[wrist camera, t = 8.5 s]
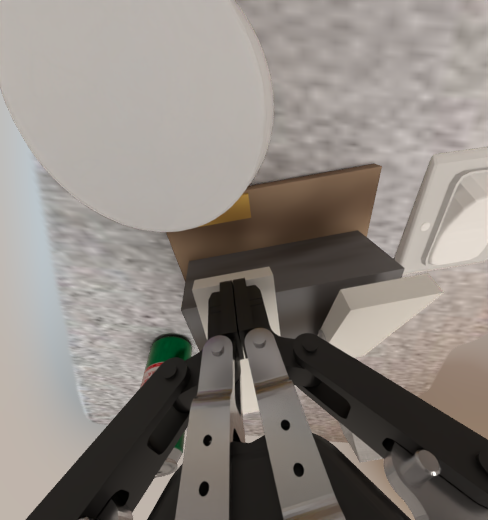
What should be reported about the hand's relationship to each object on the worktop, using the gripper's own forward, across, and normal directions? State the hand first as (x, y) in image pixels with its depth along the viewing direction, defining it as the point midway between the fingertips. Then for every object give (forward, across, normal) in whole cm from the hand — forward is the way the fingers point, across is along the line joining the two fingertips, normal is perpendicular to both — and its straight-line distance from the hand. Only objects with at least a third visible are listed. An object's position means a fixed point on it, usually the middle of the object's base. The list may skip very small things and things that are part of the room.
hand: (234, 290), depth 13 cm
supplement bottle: (+9, +1, -9) cm, 12 cm away
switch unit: (+8, -4, +6) cm, 11 cm away
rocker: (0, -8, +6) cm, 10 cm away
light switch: (+9, -23, +3) cm, 25 cm away
